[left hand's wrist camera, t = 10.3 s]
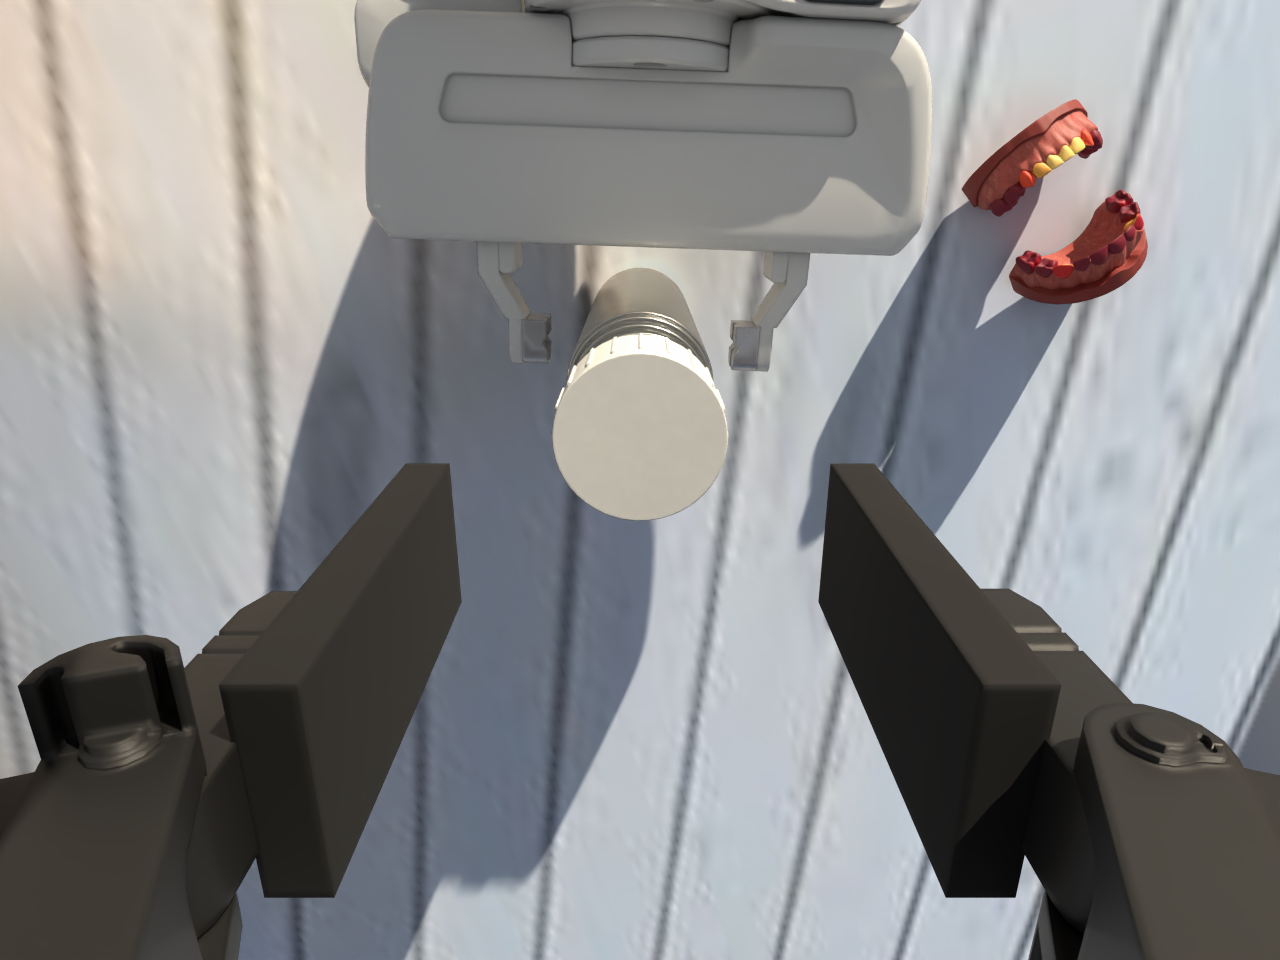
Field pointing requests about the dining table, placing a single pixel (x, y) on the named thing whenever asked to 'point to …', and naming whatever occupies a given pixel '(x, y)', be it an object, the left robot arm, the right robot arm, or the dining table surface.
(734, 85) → the right robot arm
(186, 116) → the dining table surface
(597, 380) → the cap
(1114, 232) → the dental model
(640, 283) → the bottle
